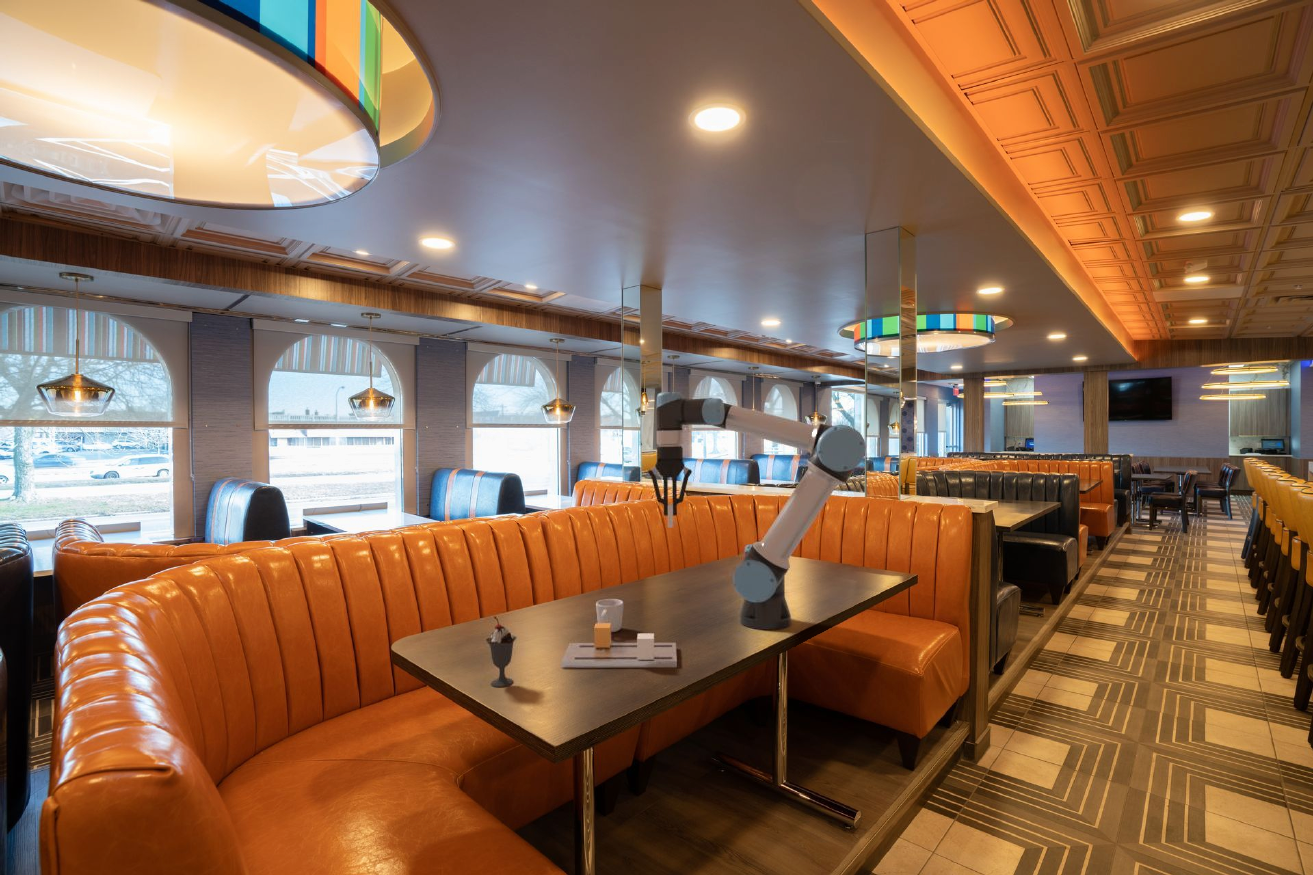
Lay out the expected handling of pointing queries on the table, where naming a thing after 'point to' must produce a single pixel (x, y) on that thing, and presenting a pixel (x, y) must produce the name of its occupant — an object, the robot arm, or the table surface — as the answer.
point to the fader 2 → (645, 646)
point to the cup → (610, 612)
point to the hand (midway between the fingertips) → (670, 526)
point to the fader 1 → (602, 635)
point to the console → (617, 656)
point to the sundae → (501, 653)
